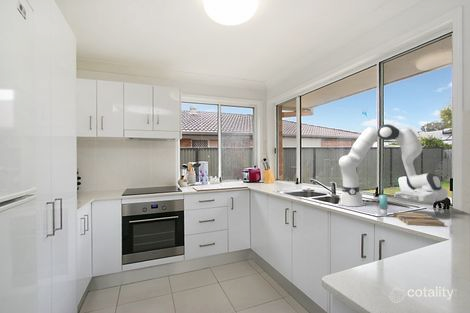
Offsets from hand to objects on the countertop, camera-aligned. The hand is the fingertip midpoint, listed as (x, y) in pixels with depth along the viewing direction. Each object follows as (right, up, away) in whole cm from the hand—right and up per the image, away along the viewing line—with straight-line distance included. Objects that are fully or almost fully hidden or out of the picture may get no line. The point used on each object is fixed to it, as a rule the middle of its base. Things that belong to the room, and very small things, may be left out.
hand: (401, 196), depth 139 cm
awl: (-12, -12, -1) cm, 17 cm away
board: (-1, -11, -12) cm, 17 cm away
